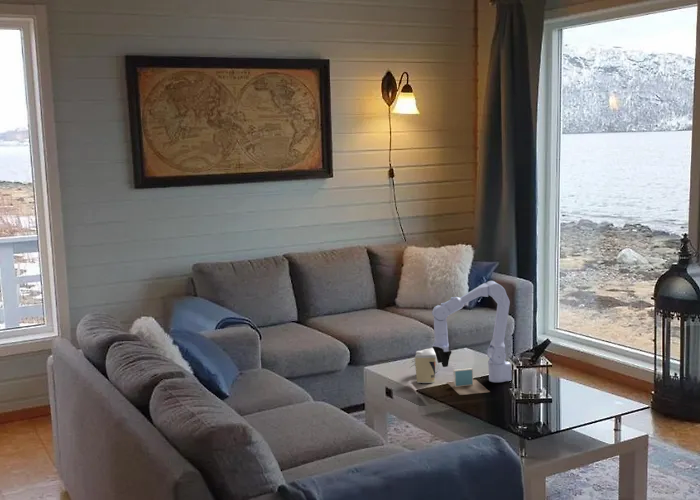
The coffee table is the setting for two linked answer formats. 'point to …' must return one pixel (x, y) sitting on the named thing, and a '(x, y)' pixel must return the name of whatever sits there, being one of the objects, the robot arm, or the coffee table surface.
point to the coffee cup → (425, 368)
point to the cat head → (428, 352)
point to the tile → (463, 377)
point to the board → (469, 388)
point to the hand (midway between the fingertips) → (442, 364)
